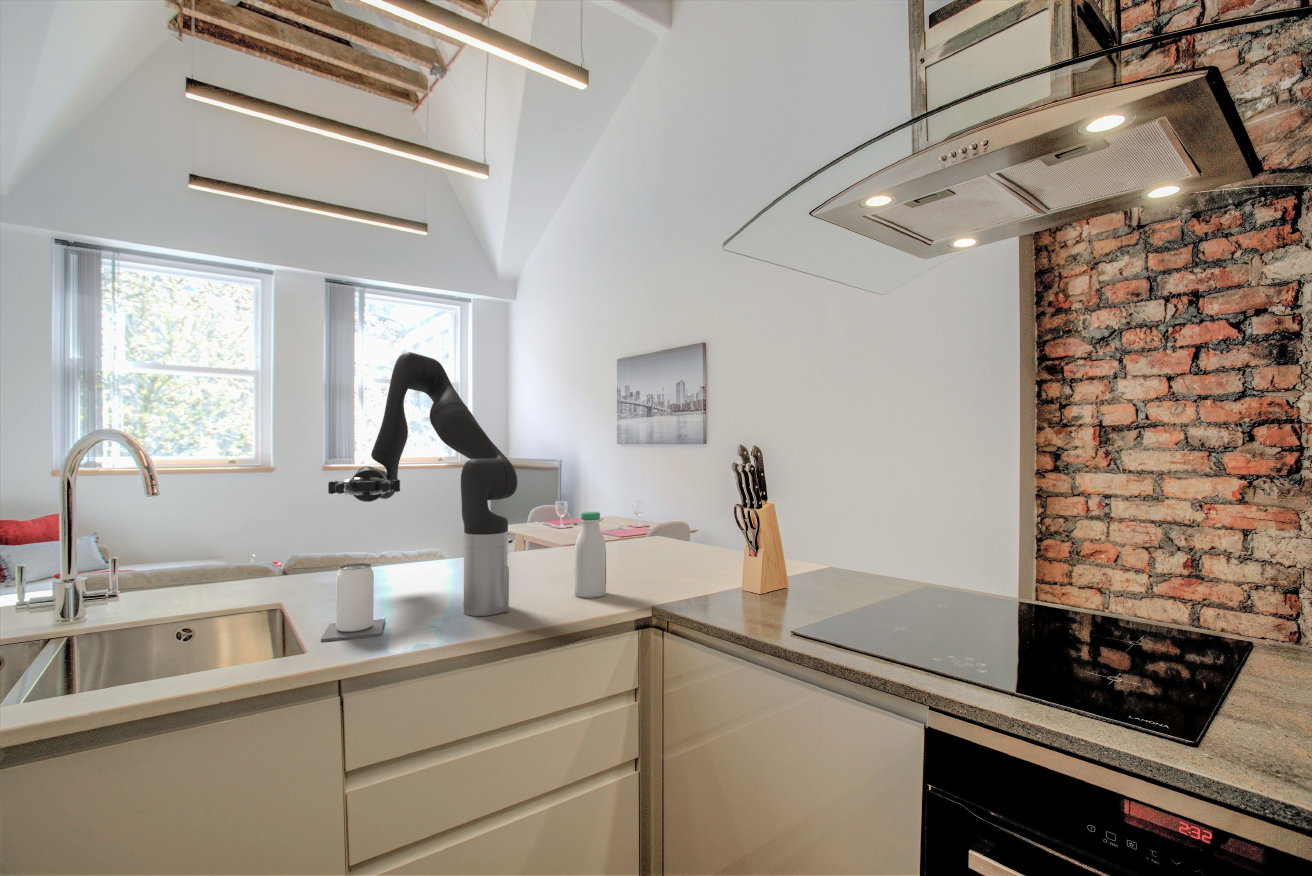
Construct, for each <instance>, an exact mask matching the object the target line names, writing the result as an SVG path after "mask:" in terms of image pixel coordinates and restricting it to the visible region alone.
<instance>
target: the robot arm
mask: <svg viewBox="0 0 1312 876" xmlns="http://www.w3.org/2000/svg"><path fill="white" fill-rule="evenodd" d="M408 390H413V391H417V392H421V393H424V394H425V395H427V396H428V397H429V398H430V399H431V401H432V402H433V403H432V405H431V407H430V412H429V422H430V424H431V427H432V428H433V429H434V431H435V433H436V434H437V436H438V438H439V440H440V441H442V442H443V443H444V444H445V445H446V446H447V447H449V449H450V448H451V449H452V450H453V451H455V452H457V453H458V454H459V455H462V456H464V457H465V458H467V459H468V460H467V461H465V463H464V464H463V466H462V469H461V473H460V493H461V494H460V496H461V499H460V500H461V516H462V517H461V518H462V522H463V604H462V605H463V613H464V614H465V615H468V616H473V617H474V616H476V617H478V616H480V617H485V616H493V615H499V614H501V613H506V612H507V613H508V612H509V611H510V605H509V604H510V567H509V566H508V564H509V561H508V560H509V559H508V558H509V557H508V556H509V551H508V550H509V547H508V545H509V543H508V541H509V538H508V537H509V521H508V519H507V517H505V516H502V515H498V514H496V513H494V512H492V511H491V510H490V508H489V502H488V501H498V500H505V499H509V498H510V497H512V496H513V495H514V494H515V492H516V490H517V487H518V476H517V472H516V470H515V467H514V466H513V464H512V462H511V461H510V460H509V459H508V457H506V455H505V454H504V453H503V452H502V450H500V449H499V448H498V447H497V446H496V445H495V443H493V441H492V440H491V439H490V438H489V436H488V434H486V432H485V431H484V430H483V428H482V427H481V426H480V424H479V422H478V421H477V419H476V418H475V417H474V415H473V414H472V412H471V411H470V409H469V407H468V406H467V405H466V404H465V402H464V401H463V400H462V399H461V397H460V396H459V394H458V393H457V391H456V388H455V387H454V386H453V384H452V382H451V380H450V378H449V375H448V374H447V372H446V370H445V369H444V367H443V365H442V363H440V362H439V361H438V360H437V359H435V358H433V357H429V356H427V355H426V356H425V355H423V354H419V353H415V352H412V351H411V352H410V351H405V352H402V354H400V355H399V356H398V358H397V359H396V361H395V363H394V366H393V370H392V374H391V377H390V383H389V388H388V393H387V397H386V403H385V408H384V413H383V414H384V415H383V418H382V423H381V426H380V428H379V431H378V435H377V436H376V440H375V442H374V445H373V448H372V450H371V458H372V460H374V461H376V463H379V464H380V465H382V466H383V467H385V469H386V471H385V470H383V469H379V468H375V467H372V466H370V465H369V466H368V465H364V466H361V467H360V468H359V469H358V470H357V471H356V473H355V474H354V475H353V476H352V478H347V479H344V481H340V480H334V481H329V482H328V483H327V484H328V486H327V487H328V488H327V489H328V491H327V493H328V494H329V495H333V494H338V495H341V494H344V495H345V496H346V495H347V496H349V495H350V496H351V495H352V496H353V497H354V498H355V499H357V500H358V501H360V502H365V503H369V502H370V503H371V502H374V501H377V500H378V499H383V500H387V499H390V498H392V497H393V496H394V495H395V493H399V492H400V491H401V480H400V479H398V478H399V477H398V473H399V464H400V461H401V457H402V455H403V452H404V449H405V446H406V444H407V441H408V437H409V428H408V427H409V426H408V421H407V418H406V413H405V407H404V406H405V398H406V394H407V392H408Z"/></svg>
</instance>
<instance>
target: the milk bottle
mask: <svg viewBox="0 0 1312 876" xmlns="http://www.w3.org/2000/svg"><path fill="white" fill-rule="evenodd" d="M580 518H581V520H580V521H581V527H580V531H579V534H578V536H577V538H576V541H575V546H574V560H573V561H574V562H573V563H574V565H573V567H574V568H573V569H574V570H573V571H574V572H573V575H574V576H573V579H574V580H573V586H574V587H573V593H574V595H575V596H576V597H578V598H586V599H592V598H593V599H594V598H601V597H603V596H605V595H606V594H607V546H606V541H605V538H604V535H603V533H602V531H601V527H600V520H601V513H600V512H598V511H583V512H581V513H580Z"/></svg>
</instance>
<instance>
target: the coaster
mask: <svg viewBox="0 0 1312 876" xmlns="http://www.w3.org/2000/svg"><path fill="white" fill-rule="evenodd" d="M385 622H386V618H378V619H377V618H376V619H373V625H372V626H371V627H370V628H368V629H366V630H363V631H358V632H339V631H338V630H337V629H336V622H335V623H329V624H328V626H327V627H326V630H325V631H324V633H323V635H322V636H321V638H320V642H321V643H322V641H324V642H332V641H333V640H334V641H341V640H343V639H344V640H352V639H362V638H374V637H381V636H382V632H383V630H384V626H385ZM334 641H333V642H334Z"/></svg>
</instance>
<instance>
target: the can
mask: <svg viewBox="0 0 1312 876" xmlns="http://www.w3.org/2000/svg"><path fill="white" fill-rule="evenodd" d="M338 568H339V570H338V572H337V574H336V581H335V582H336V583H335V584H336V585H335V586H336V587H335V588H336V589H335V590H336V593H335V596H336V597H335V604H336V606H335V623H336V629H337V630H338V631H339V632H358V631H363V630H366V629H368V628H370V627H371V626H372V625H373V620H374V603H375V602H374V599H375V598H374V597H375V596H374V590H375V589H374V583H375V582H374V581H375V580H374V570H373V569H372V564H371V563H368V562H366V563H365V562H362V563H361V562H360V563H350V564H349V563H348V564H344V565H340V566H339V567H338Z"/></svg>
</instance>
